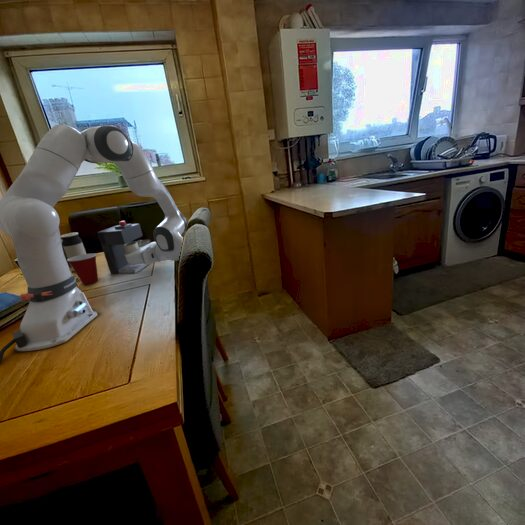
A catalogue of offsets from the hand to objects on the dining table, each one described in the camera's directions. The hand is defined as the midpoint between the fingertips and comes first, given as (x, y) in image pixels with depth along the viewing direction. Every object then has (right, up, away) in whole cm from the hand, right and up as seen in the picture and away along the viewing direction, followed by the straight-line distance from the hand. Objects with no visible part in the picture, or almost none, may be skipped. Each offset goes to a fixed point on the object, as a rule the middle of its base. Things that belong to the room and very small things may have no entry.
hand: (131, 252), depth 128 cm
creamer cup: (+1, -5, +2) cm, 5 cm away
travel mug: (-30, -8, +12) cm, 34 cm away
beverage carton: (-6, -1, +24) cm, 25 cm away
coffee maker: (-2, -8, +3) cm, 8 cm away
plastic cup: (-14, -13, -7) cm, 21 cm away
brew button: (-1, +12, -4) cm, 13 cm away
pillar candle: (-39, -6, +21) cm, 45 cm away
